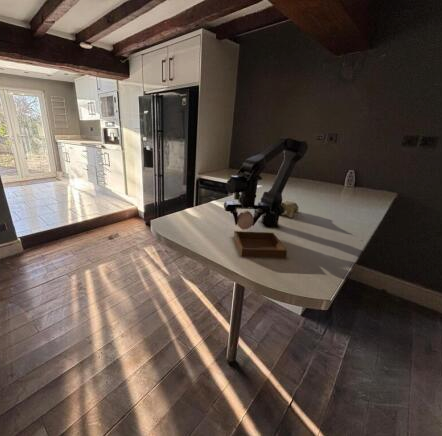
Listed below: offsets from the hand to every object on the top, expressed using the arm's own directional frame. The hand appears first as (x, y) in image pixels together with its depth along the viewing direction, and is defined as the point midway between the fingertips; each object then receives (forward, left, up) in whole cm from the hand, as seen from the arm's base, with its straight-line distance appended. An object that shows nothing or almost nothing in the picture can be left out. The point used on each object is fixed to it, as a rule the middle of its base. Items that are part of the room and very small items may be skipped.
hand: (244, 225), depth 101 cm
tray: (-2, +15, -3) cm, 15 cm away
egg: (0, 0, -2) cm, 2 cm away
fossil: (-29, -25, -3) cm, 38 cm away
